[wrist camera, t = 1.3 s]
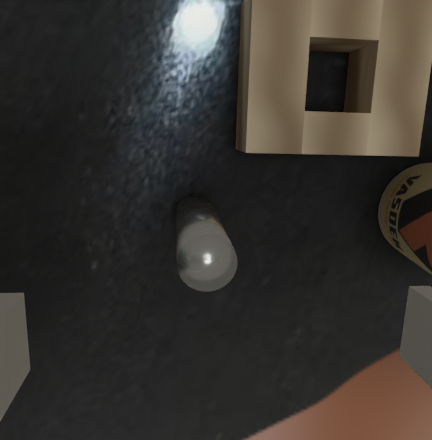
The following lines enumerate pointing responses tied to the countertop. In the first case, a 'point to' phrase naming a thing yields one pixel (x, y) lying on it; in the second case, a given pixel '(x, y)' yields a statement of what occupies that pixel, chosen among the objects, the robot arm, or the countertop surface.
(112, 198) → the countertop surface
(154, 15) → the countertop surface
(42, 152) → the countertop surface
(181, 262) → the peg
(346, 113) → the hole block
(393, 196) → the coffee cup
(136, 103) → the countertop surface
